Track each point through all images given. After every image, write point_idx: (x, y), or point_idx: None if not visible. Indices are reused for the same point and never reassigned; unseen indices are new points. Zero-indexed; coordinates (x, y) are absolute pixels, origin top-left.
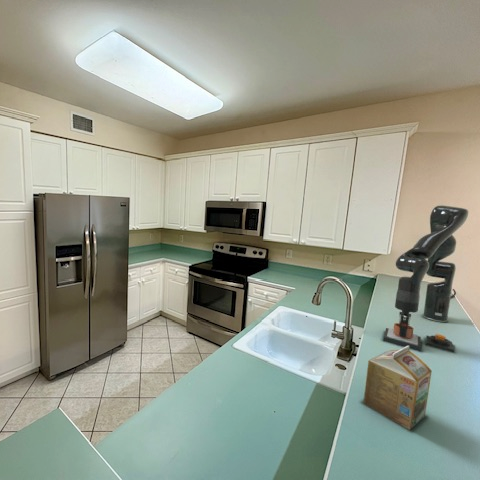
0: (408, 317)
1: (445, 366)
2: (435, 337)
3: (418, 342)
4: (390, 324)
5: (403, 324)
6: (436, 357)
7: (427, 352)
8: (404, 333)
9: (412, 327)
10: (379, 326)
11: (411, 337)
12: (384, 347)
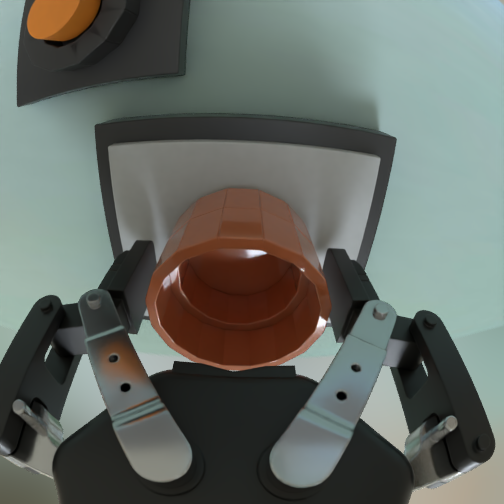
0: (492, 446)
1: (486, 66)
2: (71, 35)
3: (284, 136)
4: (8, 272)
5: (158, 315)
6: (404, 57)
7: (354, 86)
8: (368, 282)
9: (193, 246)
10: None
11: (273, 197)
12: (420, 294)
